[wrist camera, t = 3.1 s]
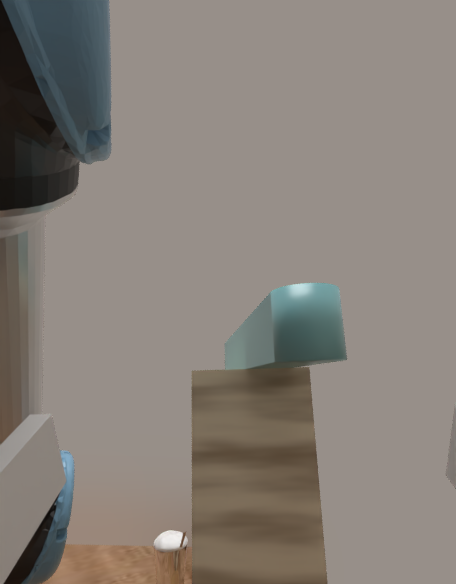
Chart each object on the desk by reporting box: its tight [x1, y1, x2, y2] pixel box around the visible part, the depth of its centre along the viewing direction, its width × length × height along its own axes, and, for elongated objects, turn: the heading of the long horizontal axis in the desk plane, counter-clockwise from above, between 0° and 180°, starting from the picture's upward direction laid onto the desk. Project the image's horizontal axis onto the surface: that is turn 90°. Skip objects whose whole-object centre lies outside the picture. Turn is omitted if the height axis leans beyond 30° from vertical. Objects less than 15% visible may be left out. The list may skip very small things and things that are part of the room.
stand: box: [192, 367, 327, 584], centre depth 35 cm, size 18×10×30 cm, turn 177°
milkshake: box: [154, 530, 188, 584], centre depth 46 cm, size 4×5×10 cm
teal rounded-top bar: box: [225, 283, 347, 370], centre depth 34 cm, size 33×4×4 cm, turn 6°
